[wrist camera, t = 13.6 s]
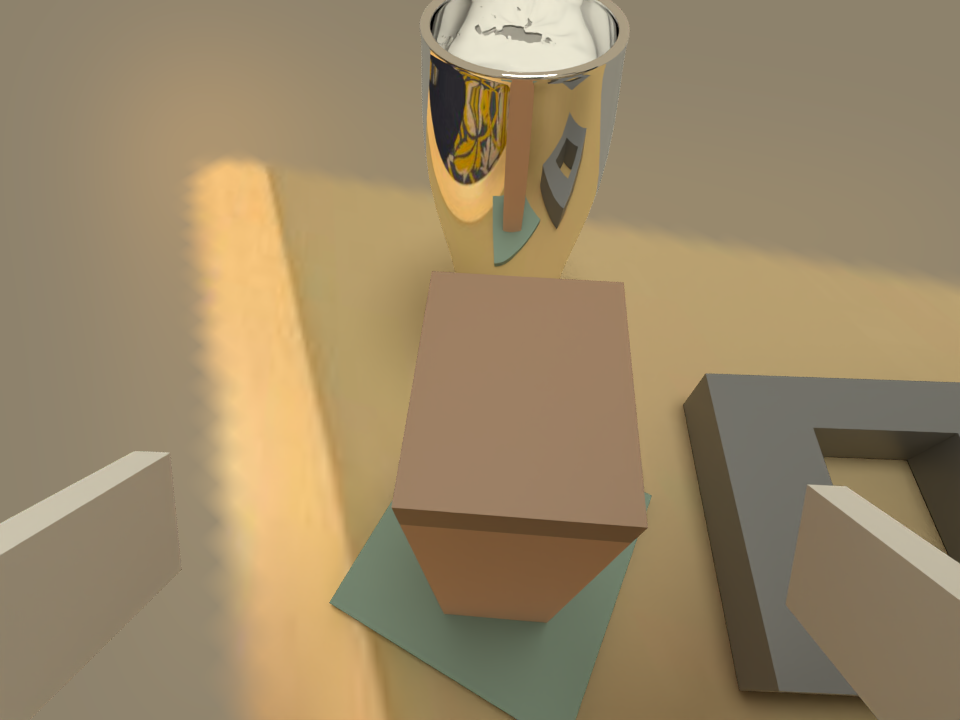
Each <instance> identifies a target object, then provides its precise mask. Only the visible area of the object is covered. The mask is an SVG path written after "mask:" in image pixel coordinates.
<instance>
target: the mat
mask: <svg viewBox="0 0 960 720" xmlns="http://www.w3.org/2000/svg"><path fill="white" fill-rule="evenodd" d="M644 494H645V504H646V511H647V508H648V505H649V502H650V499H651V496H652V495H649V494H647V493H645V492H644ZM392 501H393V500H392ZM391 507H392V502H391V503H390V505H389V507H388V508H387V510H386V512H385V513H384V515H383V516H382V518H381V520H380V521H379V523H378V525H377V526H376V528H375V529H374V531H373V533H372V534H371V536H370V538H369V539H368V541H367V542H366V544H365V546H364V547H363V549H362V550H361V552H360V554H359V555H358V557H357V559H356V560H355V562H354V563H353V565H352V567H351V568H350V570H349V572H348V573H347V575H346V576H345V578H344V580H343V581H342V583H341V585H340V586H339V588H338V589H337V591H336V593H335V594H334V596H333V597H332V599H331V601H330V602H329V603H330V604H332V605H334V606H335V607H337V608H338V609H340V610H342V611H343V612H345V613H347V614H348V615H350V616H351V617H353V618H355V619H356V620H358V621H359V622H361V623H363V624H364V625H366V626H367V627H369V628H371V629H372V630H374V631H376V632H377V633H379V634H380V635H382V636H384V637H385V638H387V639H388V640H390V641H392V642H393V643H395V644H396V645H398V646H400V647H401V648H403V649H404V650H406V651H408V652H409V653H411V654H413V655H414V656H416V657H417V658H419V659H421V660H422V661H424V662H425V663H427V664H429V665H430V666H432V667H433V668H435V669H437V670H438V671H440V672H442V673H443V674H445V675H446V676H448V677H450V678H451V679H453V680H454V681H456V682H458V683H459V684H461V685H462V686H464V687H466V688H467V689H469V690H471V691H472V692H474V693H475V694H477V695H479V696H480V697H482V698H483V699H485V700H487V701H488V702H490V703H491V704H493V705H495V706H496V707H498V708H500V709H501V710H503V711H504V712H506V713H508V714H509V715H511V716H512V717H514V718H516V719H517V720H576V717H577V714H578V711H579V708H580V705H581V702H582V699H583V696H584V693H585V690H586V688H587V685H588V682H589V679H590V676H591V673H592V670H593V667H594V664H595V661H596V658H597V655H598V652H599V649H600V646H601V643H602V641H603V638H604V635H605V632H606V629H607V626H608V623H609V620H610V617H611V614H612V611H613V608H614V605H615V602H616V599H617V596H618V593H619V591H620V588H621V585H622V582H623V579H624V576H625V573H626V570H627V567H628V564H629V561H630V558H631V555H632V552H633V549H634V546H635V543H636V541H637V538H638V537H637V538H636V539H635V540H634V541H633V542H632V543H631V544H630V545H629V546H628V547H627V548H626V549H625V550H624V551H622V552H621V553H620V554H619V555H618V556H617V557H616V558H615V559H614V560H613V561H612V562H611V563H610V564H609V565H608V566H607V567H606V568H604V569H603V570H602V571H601V572H600V573H599V574H598V575H597V576H596V577H595V578H594V579H593V580H592V581H591V582H590V583H589V584H587V585H586V586H585V587H584V588H583V589H582V590H581V591H580V592H579V593H578V594H577V595H576V596H575V597H574V598H573V599H572V600H571V601H569V602H568V603H567V604H566V605H565V606H564V607H563V608H562V609H561V610H560V611H559V612H558V613H557V614H556V615H555V616H554V617H553V618H551V619H550V620H549V621H548V622H547V623H544V622H532V621H520V620H509V619H497V618H486V617H474V616H463V615H451V614H444V613H443V611H442V609H441V607H440V605H439V603H438V601H437V599H436V597H435V595H434V593H433V591H432V589H431V587H430V585H429V583H428V581H427V579H426V577H425V575H424V573H423V571H422V568H421V566H420V564H419V562H418V560H417V558H416V556H415V554H414V552H413V550H412V548H411V546H410V544H409V542H408V540H407V538H406V536H405V534H404V532H403V530H402V528H401V526H400V524H399V522H398V520H397V518H396V516H395V514H394V512H393V510H392V508H391Z"/></svg>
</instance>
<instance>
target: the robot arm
mask: <svg viewBox="0 0 960 720" xmlns="http://www.w3.org/2000/svg"><path fill="white" fill-rule="evenodd" d="M181 570H182V569H181V559H180V548H179V538H178V528H177V519H176V508H175V498H174V487H173V477H172V467H171V457H170V453H165V452H145V451H134V452H132V453H130V454H128V455H126V456H124V457H123V458H121V459H119V460H117V461H115V462H113V463H112V464H110V465H108V466H106V467H104V468H102V469H100V470H98V471H97V472H95V473H93V474H91V475H89V476H87V477H86V478H84V479H82V480H80V481H78V482H76V483H74V484H73V485H71V486H69V487H67V488H65V489H63V490H61V491H59V492H58V493H56V494H54V495H52V496H50V497H48V498H46V499H45V500H43V501H41V502H39V503H37V504H35V505H33V506H32V507H30V508H28V509H26V510H24V511H23V512H21V513H19V514H17V515H15V516H13V517H11V518H9V519H8V520H6V521H4V522H2V523H0V720H30V719H31V718H32V717H33V716H34V715H35V714H36V713H37V712H38V711H39V710H40V709H41V708H42V707H43V706H44V705H45V704H46V703H47V702H48V701H49V700H50V699H51V698H52V697H53V696H54V695H55V694H56V693H57V692H58V691H59V690H60V689H61V688H62V687H63V686H64V685H65V684H66V683H67V682H68V681H69V680H70V679H72V677H73V676H74V675H76V674H77V673H78V672H79V671H80V670H81V669H82V668H83V667H84V666H85V665H86V664H87V663H88V662H89V661H90V660H91V659H92V657H94V656H95V654H97V653H98V652H99V651H100V650H101V649H102V648H103V647H104V646H105V645H106V644H107V643H108V642H109V641H110V640H111V639H112V638H113V637H114V636H115V635H116V634H117V633H118V632H119V631H120V630H121V629H122V628H123V627H124V626H125V625H126V624H127V623H128V622H129V621H130V620H131V619H132V618H133V617H134V616H135V615H136V614H137V613H138V612H139V611H140V610H141V609H142V608H143V607H144V606H145V605H146V604H147V603H148V602H149V601H150V600H151V599H152V598H153V597H154V596H155V595H156V594H158V593H159V591H160V590H162V588H163V587H165V586H166V585H167V584H168V583H169V582H170V581H171V580H172V579H173V578H174V577H175V576H176V574H178V573H179V572H180V571H181ZM785 605H786V606H787V607H788V608H789V610H790V611H791V612H792V613H793V615H794V616H795V617H796V618H797V620H798V621H799V622H800V623H801V625H802V626H803V627H804V628H805V630H806V631H807V632H808V633H809V635H810V636H811V637H812V638H813V639H814V641H815V642H816V643H817V644H818V646H819V647H820V648H821V649H822V651H823V652H824V653H825V654H826V656H827V657H828V658H829V659H830V661H831V662H832V663H833V664H834V666H835V667H836V668H837V669H838V671H839V672H840V673H841V674H842V676H843V677H844V678H845V679H846V680H847V682H848V683H849V684H850V685H851V687H852V688H853V689H854V690H855V692H856V693H857V694H858V695H859V697H860V698H861V699H862V700H863V702H864V703H865V704H866V705H867V707H868V708H869V709H870V710H871V712H872V713H873V714H874V715H875V717H876V718H877V719H878V720H960V563H958V562H957V561H955V560H954V559H952V558H951V557H949V556H948V555H946V554H945V553H943V552H942V551H941V550H939V549H938V548H936V547H935V546H933V545H932V544H930V543H929V542H927V541H926V540H924V539H923V538H921V537H920V536H918V535H917V534H916V533H914V532H913V531H911V530H910V529H908V528H907V527H905V526H904V525H902V524H901V523H899V522H898V521H896V520H895V519H893V518H892V517H890V516H889V515H888V514H886V513H885V512H883V511H882V510H880V509H879V508H877V507H876V506H874V505H873V504H871V503H870V502H868V501H867V500H865V499H864V498H863V497H861V496H860V495H858V494H857V493H855V492H854V491H852V490H851V489H849V488H848V487H846V486H828V485H808V484H807V488H806V494H805V500H804V505H803V511H802V516H801V522H800V527H799V533H798V538H797V544H796V549H795V555H794V560H793V566H792V571H791V577H790V582H789V588H788V593H787V599H786V604H785Z"/></svg>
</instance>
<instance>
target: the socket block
mask: <svg viewBox="0 0 960 720" xmlns="http://www.w3.org/2000/svg"><path fill="white" fill-rule="evenodd" d="M683 406H684V411H685V416H686V421H687V426H688V431H689V436H690V441H691V446H692V451H693V457H694V462H695V467H696V472H697V477H698V482H699V487H700V492H701V497H702V502H703V507H704V513H705V518H706V523H707V528H708V533H709V538H710V543H711V548H712V553H713V558H714V563H715V569H716V574H717V579H718V584H719V589H720V594H721V599H722V604H723V609H724V614H725V620H726V625H727V630H728V635H729V640H730V645H731V650H732V655H733V660H734V665H735V670H736V676H737V681H738V686H739V690H740V691H760V692H781V693H801V694H822V695H842V696H859V695H858V694H857V693H856V692H855V690H854V689H853V688H852V687H851V685H850V684H849V683H848V682H847V680H846V679H845V678H844V677H843V676H842V674H841V673H840V672H839V671H838V669H837V668H836V667H835V666H834V664H833V663H832V662H831V661H830V659H829V658H828V657H827V656H826V654H825V653H824V652H823V651H822V649H821V648H820V647H819V646H818V644H817V643H816V642H815V641H814V639H813V638H812V637H811V636H810V635H809V633H808V632H807V631H806V630H805V628H804V627H803V626H802V625H801V623H800V622H799V621H798V620H797V618H796V617H795V616H794V615H793V613H792V612H791V611H790V610H789V608H788V607H787V606H786V605H785V604H786V599H787V593H788V588H789V582H790V577H791V571H792V566H793V560H794V555H795V549H796V544H797V538H798V533H799V527H800V522H801V516H802V511H803V505H804V500H805V494H806V488H807V484H808V485H828V486H833V484H832V482H831V479H830V476H829V473H828V470H827V467H826V464H825V461H824V458H823V457H848V458H873V459H899V460H908V463H909V465H910V467H911V469H912V472H913V474H914V476H915V479H916V481H917V483H918V485H919V488H920V490H921V492H922V495H923V497H924V499H925V502H926V504H927V506H928V508H929V511H930V513H931V515H932V518H933V520H934V522H935V525H936V527H937V529H938V531H939V534H940V536H941V538H942V541H943V543H944V545H945V547H946V550H947V552H948V554H949V557H951V558H952V559H954V560H955V561H957V562H958V563H960V383H958V382H930V381H901V380H873V379H845V378H817V377H789V376H760V375H732V374H705V375H704V377H703V378H702V379H701V381H700V382H699V384H698V385H697V386H696V388H695V389H694V391H693V392H692V393H691V395H690V396H689V397H688V399H687V400H686V402H685V403H684V404H683Z"/></svg>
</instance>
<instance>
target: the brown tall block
mask: <svg viewBox="0 0 960 720" xmlns="http://www.w3.org/2000/svg"><path fill="white" fill-rule="evenodd" d="M391 508H392V510H393V512H394V514H395V516H396V518H397V520H398V522H399V524H400V526H401V528H402V530H403V532H404V534H405V536H406V538H407V540H408V542H409V544H410V546H411V548H412V550H413V552H414V554H415V556H416V558H417V560H418V562H419V564H420V566H421V568H422V571H423V573H424V575H425V577H426V579H427V581H428V583H429V585H430V587H431V589H432V591H433V593H434V595H435V597H436V599H437V601H438V603H439V605H440V607H441V609H442V611H443V613H444V614H451V615H463V616H474V617H486V618H497V619H509V620H520V621H532V622H544V623H547V622H548V621H549V620H550V619H551V618H553V617H554V616H555V615H556V614H557V613H558V612H559V611H560V610H561V609H562V608H563V607H564V606H565V605H566V604H567V603H568V602H569V601H571V600H572V599H573V598H574V597H575V596H576V595H577V594H578V593H579V592H580V591H581V590H582V589H583V588H584V587H585V586H586V585H587V584H589V583H590V582H591V581H592V580H593V579H594V578H595V577H596V576H597V575H598V574H599V573H600V572H601V571H602V570H603V569H604V568H606V567H607V566H608V565H609V564H610V563H611V562H612V561H613V560H614V559H615V558H616V557H617V556H618V555H619V554H620V553H621V552H622V551H624V550H625V549H626V548H627V547H628V546H629V545H630V544H631V543H632V542H633V541H634V540H635V539H636V538H637V537H638V536H639V535H640V534H642V533H643V532H644V531H645V530H646V529H647V528H648V524H647V514H646V504H645V494H644V484H643V474H642V464H641V454H640V444H639V433H638V423H637V413H636V403H635V393H634V383H633V373H632V363H631V352H630V342H629V332H628V322H627V312H626V302H625V292H624V282H607V281H590V280H573V279H556V278H539V277H521V276H504V275H487V274H470V273H453V272H436V271H432V274H431V280H430V286H429V292H428V298H427V303H426V309H425V315H424V321H423V327H422V332H421V338H420V344H419V350H418V356H417V361H416V367H415V373H414V379H413V385H412V391H411V396H410V402H409V408H408V414H407V420H406V425H405V431H404V437H403V443H402V449H401V455H400V460H399V466H398V472H397V478H396V484H395V489H394V495H393V501H392V507H391Z"/></svg>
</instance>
